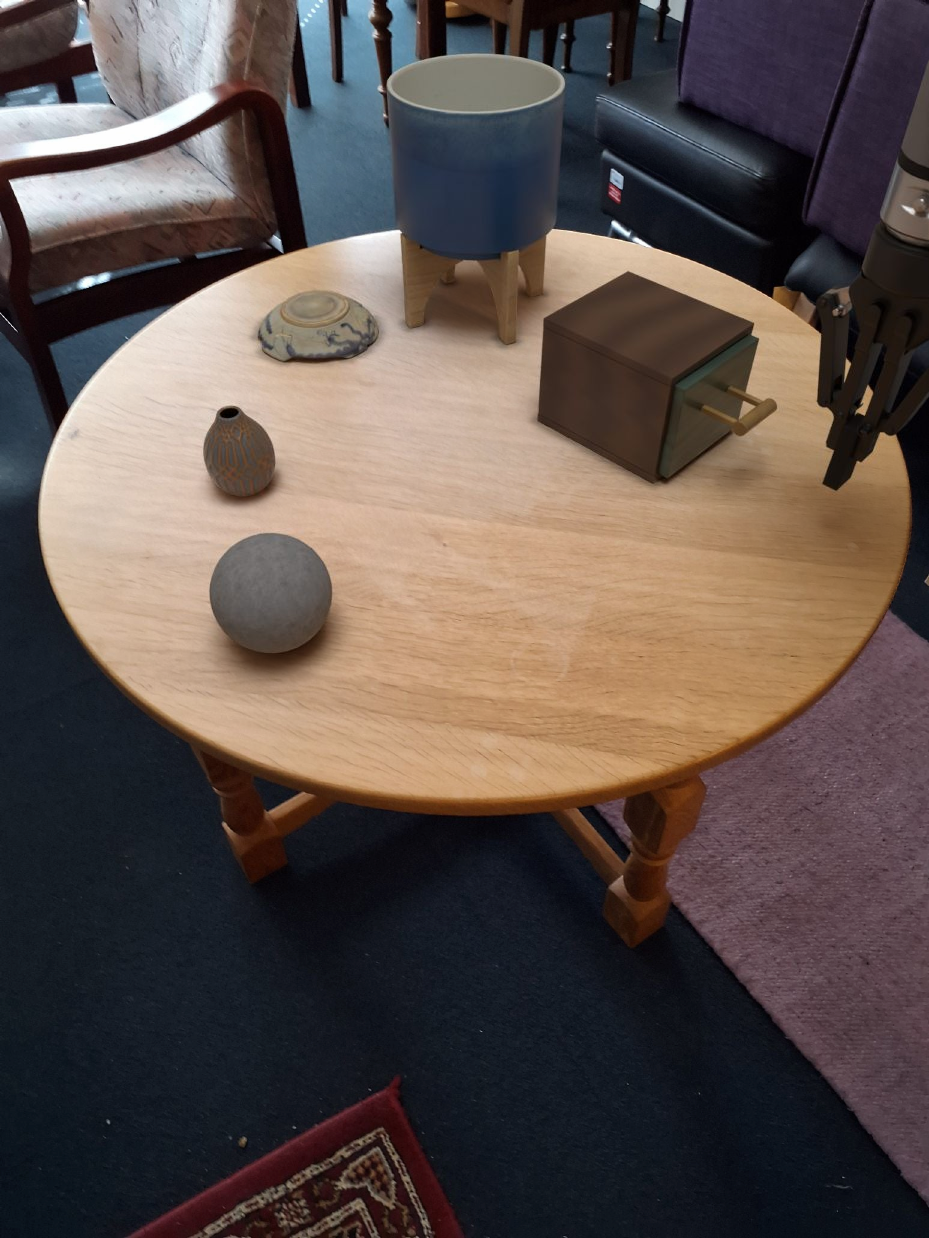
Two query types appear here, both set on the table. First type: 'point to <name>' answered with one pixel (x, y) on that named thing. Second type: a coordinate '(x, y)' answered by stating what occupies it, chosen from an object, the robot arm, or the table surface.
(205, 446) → the vase
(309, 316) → the decorative bowl
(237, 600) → the decorative ball
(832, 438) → the robot arm
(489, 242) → the planter
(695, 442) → the drawer
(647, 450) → the cabinet
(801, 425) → the table surface
